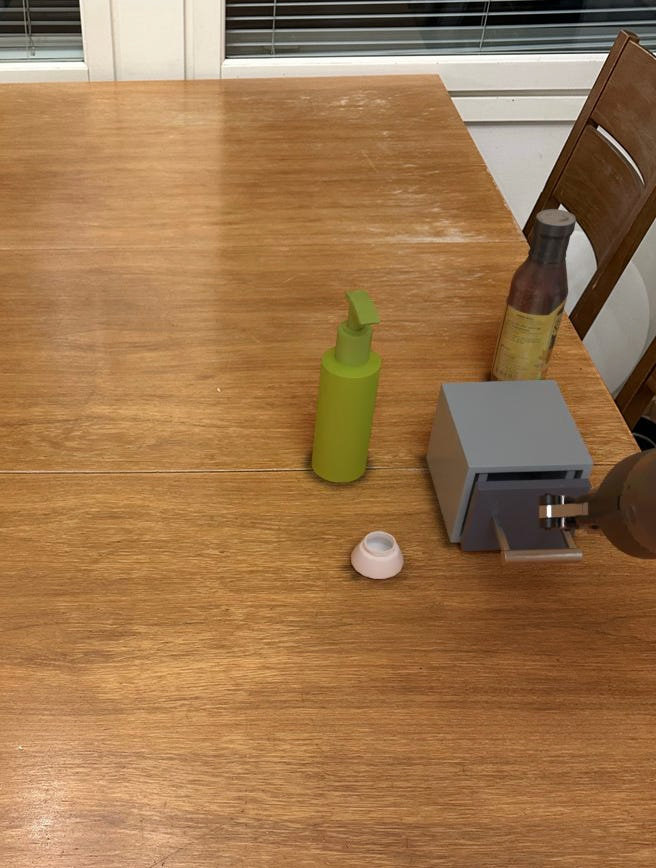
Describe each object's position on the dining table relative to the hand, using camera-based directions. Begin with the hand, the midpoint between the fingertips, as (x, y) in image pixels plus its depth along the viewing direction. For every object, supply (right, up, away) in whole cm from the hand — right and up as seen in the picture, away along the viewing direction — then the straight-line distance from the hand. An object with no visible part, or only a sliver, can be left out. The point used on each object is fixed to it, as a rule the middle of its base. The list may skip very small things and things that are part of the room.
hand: (575, 516), depth 81 cm
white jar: (-13, -3, +16) cm, 21 cm away
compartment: (0, +1, +17) cm, 17 cm away
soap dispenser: (-15, +8, +25) cm, 31 cm away
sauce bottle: (+7, +20, +35) cm, 41 cm away
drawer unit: (0, +5, +21) cm, 22 cm away
